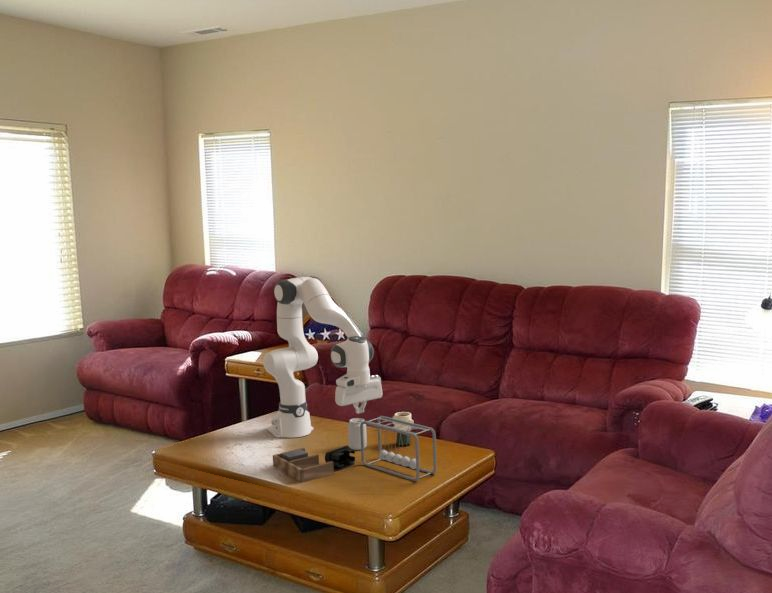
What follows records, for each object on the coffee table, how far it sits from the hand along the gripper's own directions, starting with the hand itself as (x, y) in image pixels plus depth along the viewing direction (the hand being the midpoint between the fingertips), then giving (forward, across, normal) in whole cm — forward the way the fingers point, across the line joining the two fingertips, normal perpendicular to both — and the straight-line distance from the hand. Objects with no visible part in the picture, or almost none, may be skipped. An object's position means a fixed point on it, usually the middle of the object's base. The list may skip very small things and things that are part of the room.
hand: (360, 412), depth 294 cm
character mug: (+19, -24, -4) cm, 31 cm away
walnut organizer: (+19, +23, -5) cm, 30 cm away
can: (+19, -7, -13) cm, 25 cm away
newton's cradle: (+19, -4, +18) cm, 27 cm away
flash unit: (+19, +24, -11) cm, 32 cm away
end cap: (+19, +10, 0) cm, 22 cm away
